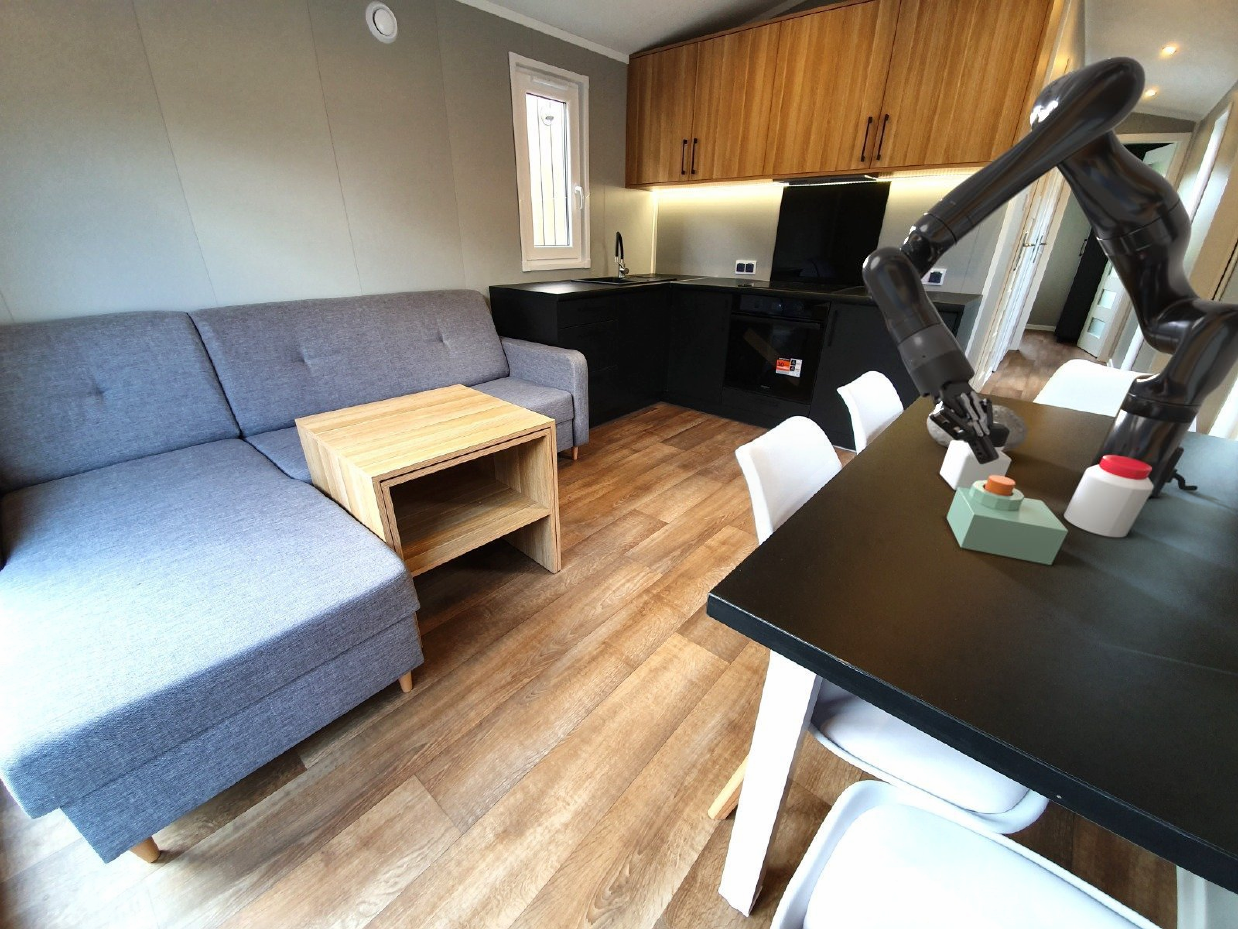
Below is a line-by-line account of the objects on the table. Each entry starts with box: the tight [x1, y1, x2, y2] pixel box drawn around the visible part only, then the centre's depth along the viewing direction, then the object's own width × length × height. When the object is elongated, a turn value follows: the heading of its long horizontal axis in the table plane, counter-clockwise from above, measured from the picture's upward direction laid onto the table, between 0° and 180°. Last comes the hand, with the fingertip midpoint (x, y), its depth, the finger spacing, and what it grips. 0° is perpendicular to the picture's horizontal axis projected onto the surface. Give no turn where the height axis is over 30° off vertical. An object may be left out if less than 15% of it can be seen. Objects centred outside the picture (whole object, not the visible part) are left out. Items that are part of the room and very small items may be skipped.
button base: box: [946, 480, 1069, 566], centre depth 72 cm, size 11×9×8 cm
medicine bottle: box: [939, 421, 1012, 491], centre depth 88 cm, size 7×7×12 cm
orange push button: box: [984, 475, 1016, 496], centre depth 72 cm, size 3×3×2 cm
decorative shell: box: [926, 403, 1029, 454], centre depth 105 cm, size 18×18×10 cm
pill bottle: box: [1063, 455, 1154, 538], centre depth 76 cm, size 8×8×11 cm
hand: (990, 461), depth 72 cm, fingers closed
